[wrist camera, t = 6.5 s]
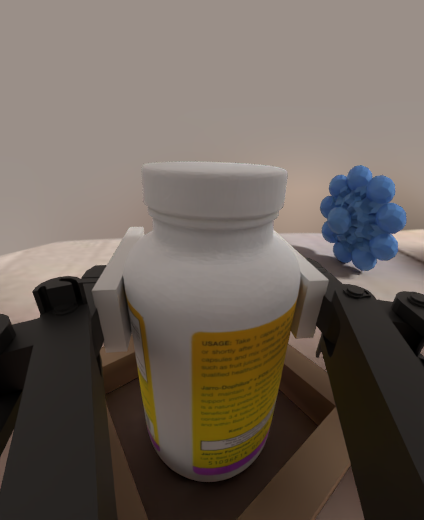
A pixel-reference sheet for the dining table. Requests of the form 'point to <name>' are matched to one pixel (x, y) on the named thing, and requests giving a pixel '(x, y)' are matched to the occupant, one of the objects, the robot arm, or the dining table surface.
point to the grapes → (362, 218)
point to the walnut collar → (290, 475)
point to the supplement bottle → (211, 312)
